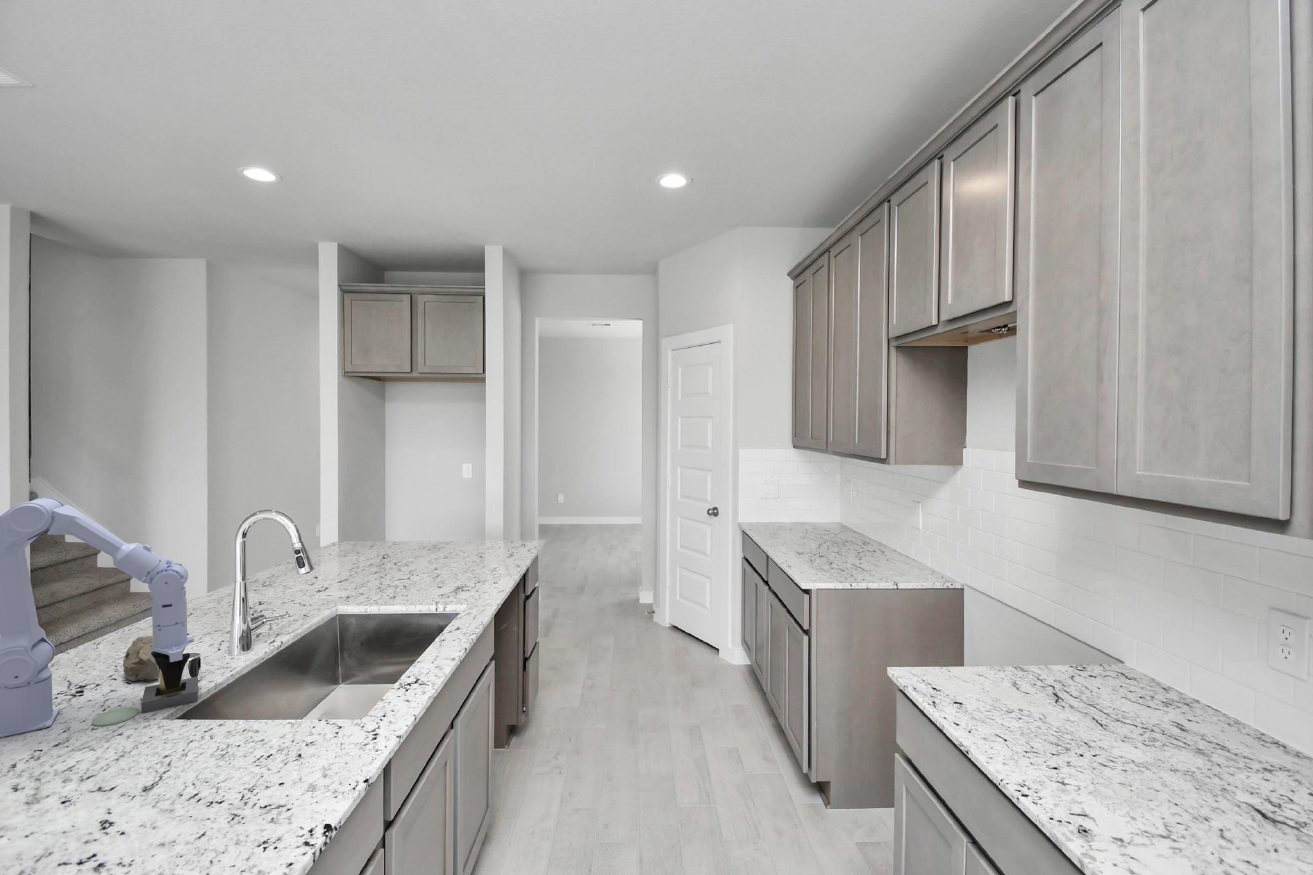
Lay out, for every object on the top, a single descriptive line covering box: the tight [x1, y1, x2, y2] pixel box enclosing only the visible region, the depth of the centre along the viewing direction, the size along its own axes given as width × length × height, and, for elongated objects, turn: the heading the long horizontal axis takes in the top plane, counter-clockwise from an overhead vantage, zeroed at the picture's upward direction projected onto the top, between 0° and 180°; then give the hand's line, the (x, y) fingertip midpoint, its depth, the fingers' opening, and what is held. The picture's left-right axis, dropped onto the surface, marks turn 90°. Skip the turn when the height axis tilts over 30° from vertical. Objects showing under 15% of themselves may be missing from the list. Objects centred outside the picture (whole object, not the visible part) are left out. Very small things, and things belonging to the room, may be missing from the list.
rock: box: [122, 635, 160, 682], centre depth 139 cm, size 12×7×10 cm, turn 39°
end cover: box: [159, 669, 183, 695], centre depth 127 cm, size 4×4×7 cm
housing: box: [140, 676, 199, 715], centre depth 127 cm, size 9×9×2 cm
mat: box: [91, 706, 140, 727], centre depth 119 cm, size 7×7×1 cm
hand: (170, 685), depth 127 cm, fingers closed on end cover, 4 cm apart
